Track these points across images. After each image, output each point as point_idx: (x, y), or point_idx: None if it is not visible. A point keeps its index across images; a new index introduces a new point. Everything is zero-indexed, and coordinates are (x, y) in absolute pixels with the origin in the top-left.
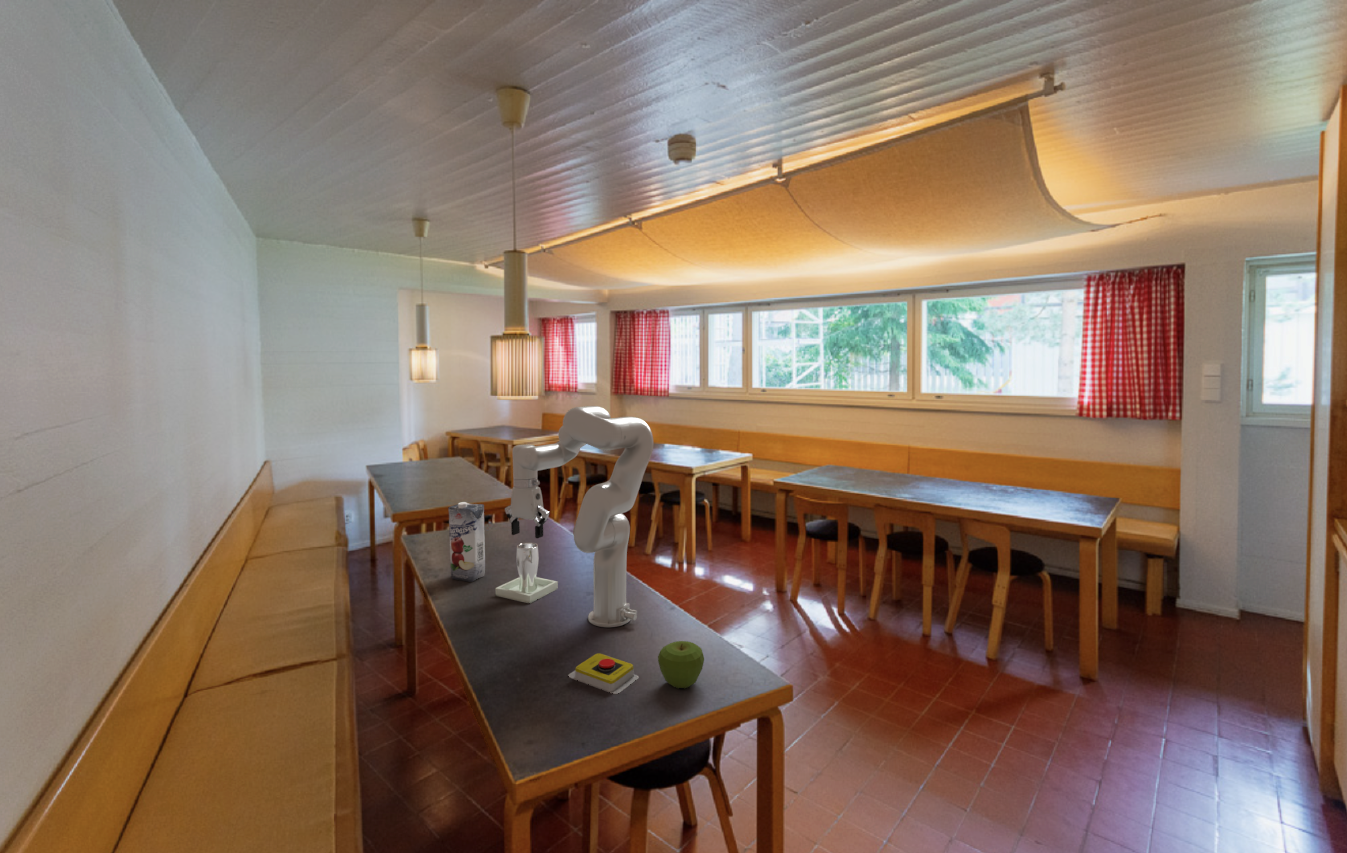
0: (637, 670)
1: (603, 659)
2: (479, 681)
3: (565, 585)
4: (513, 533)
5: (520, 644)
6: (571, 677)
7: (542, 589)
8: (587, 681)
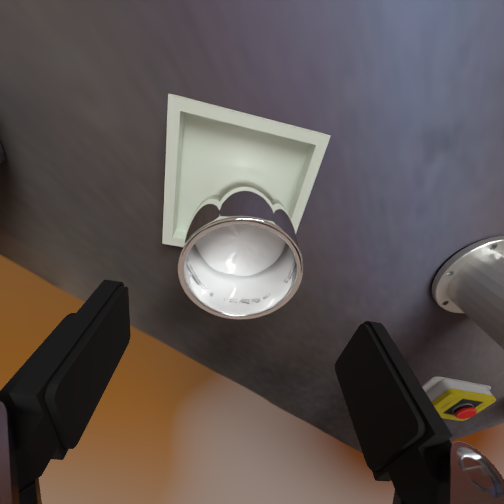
0: (492, 378)
1: (463, 412)
2: (313, 420)
3: (340, 88)
4: (124, 350)
5: (328, 369)
6: None
7: (301, 216)
8: None
